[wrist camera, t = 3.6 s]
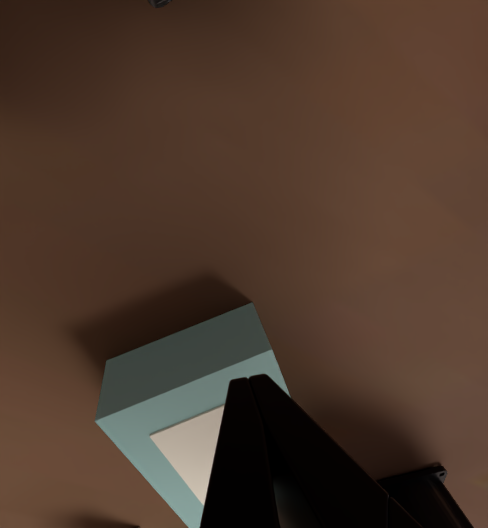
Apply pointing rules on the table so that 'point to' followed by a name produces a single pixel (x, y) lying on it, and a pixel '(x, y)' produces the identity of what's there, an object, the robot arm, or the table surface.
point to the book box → (181, 402)
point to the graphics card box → (158, 3)
